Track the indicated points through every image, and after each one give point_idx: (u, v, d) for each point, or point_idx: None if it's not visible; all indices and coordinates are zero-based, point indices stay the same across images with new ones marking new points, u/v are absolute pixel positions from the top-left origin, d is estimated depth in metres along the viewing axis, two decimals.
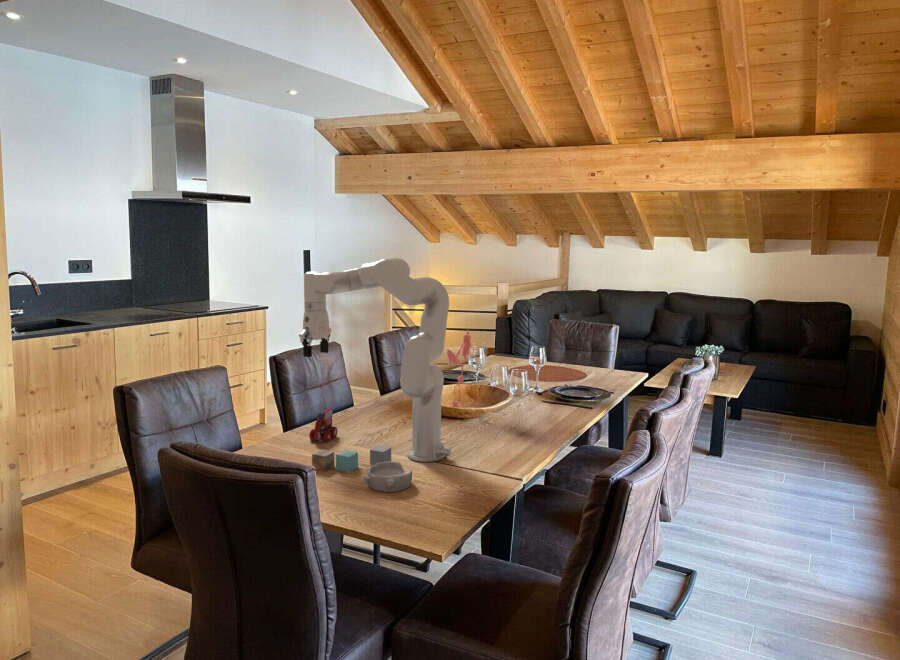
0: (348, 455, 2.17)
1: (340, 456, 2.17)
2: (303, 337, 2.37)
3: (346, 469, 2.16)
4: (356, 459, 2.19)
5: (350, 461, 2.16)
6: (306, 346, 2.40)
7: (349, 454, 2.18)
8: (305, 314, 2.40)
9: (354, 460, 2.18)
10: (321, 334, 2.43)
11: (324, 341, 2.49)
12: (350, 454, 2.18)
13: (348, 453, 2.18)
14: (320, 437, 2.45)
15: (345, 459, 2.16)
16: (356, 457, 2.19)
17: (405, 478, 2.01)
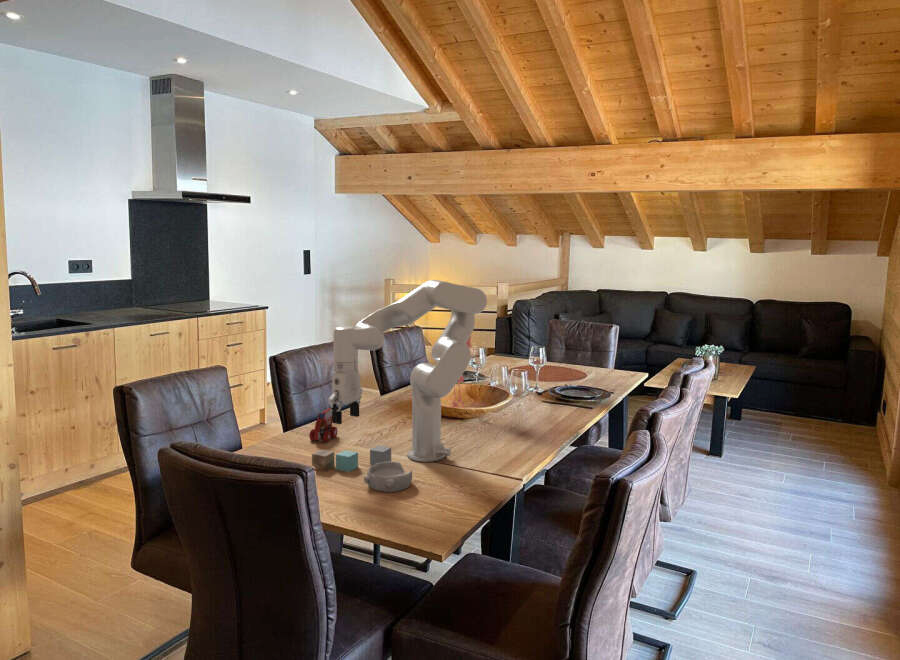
0: (348, 455, 2.17)
1: (340, 456, 2.17)
2: (333, 402, 2.09)
3: (346, 469, 2.16)
4: (356, 459, 2.19)
5: (350, 461, 2.16)
6: (336, 412, 2.11)
7: (349, 454, 2.18)
8: (335, 375, 2.11)
9: (354, 460, 2.18)
10: (352, 397, 2.14)
11: (355, 404, 2.20)
12: (350, 454, 2.18)
13: (348, 453, 2.18)
14: (320, 437, 2.45)
15: (345, 459, 2.16)
16: (356, 457, 2.19)
17: (405, 478, 2.01)
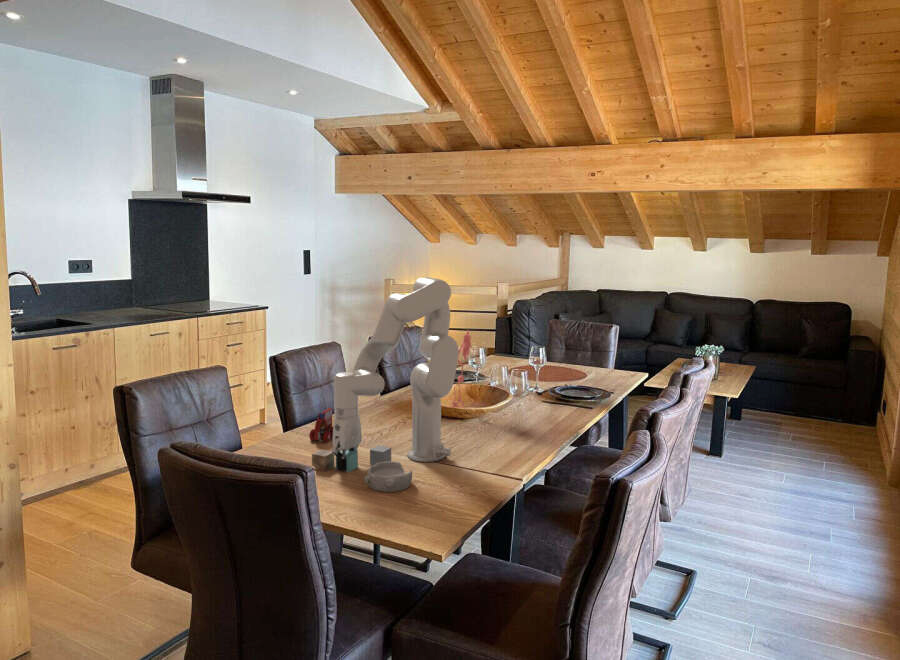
0: (348, 455, 2.17)
1: None
2: (337, 452, 2.12)
3: (346, 469, 2.16)
4: (356, 458, 2.19)
5: (350, 461, 2.16)
6: (340, 459, 2.15)
7: (349, 454, 2.18)
8: (335, 422, 2.13)
9: (354, 460, 2.18)
10: (353, 443, 2.16)
11: None
12: (350, 454, 2.17)
13: (348, 453, 2.18)
14: (320, 437, 2.45)
15: None
16: (356, 457, 2.19)
17: (405, 478, 2.01)
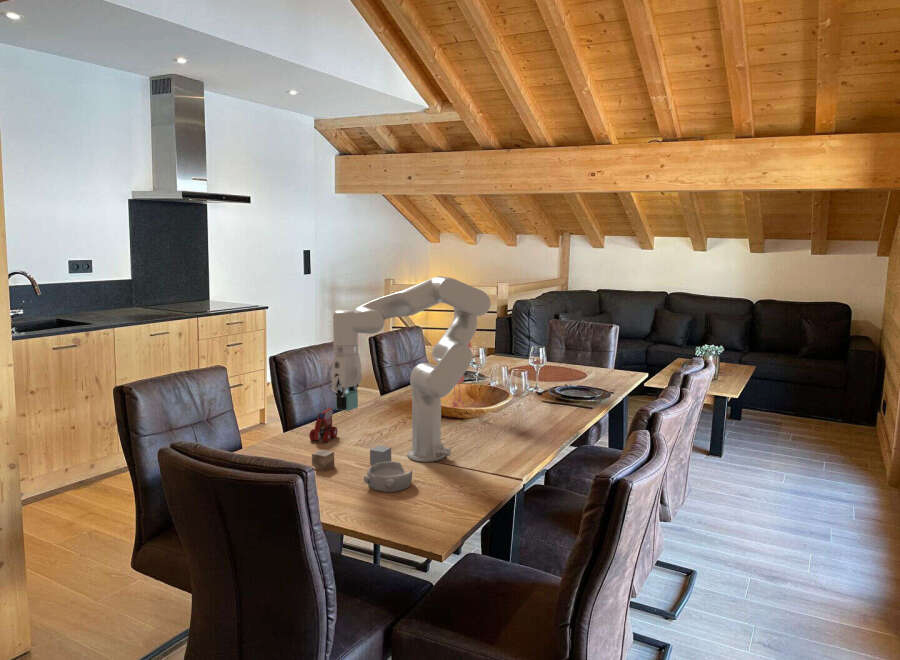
0: (348, 393, 2.14)
1: None
2: (336, 389, 2.10)
3: (346, 408, 2.13)
4: (355, 398, 2.16)
5: (350, 399, 2.13)
6: (340, 397, 2.12)
7: (348, 393, 2.15)
8: (335, 359, 2.10)
9: (354, 399, 2.15)
10: (353, 381, 2.13)
11: None
12: (350, 393, 2.15)
13: (348, 392, 2.16)
14: (320, 437, 2.45)
15: None
16: (356, 396, 2.16)
17: (405, 478, 2.01)
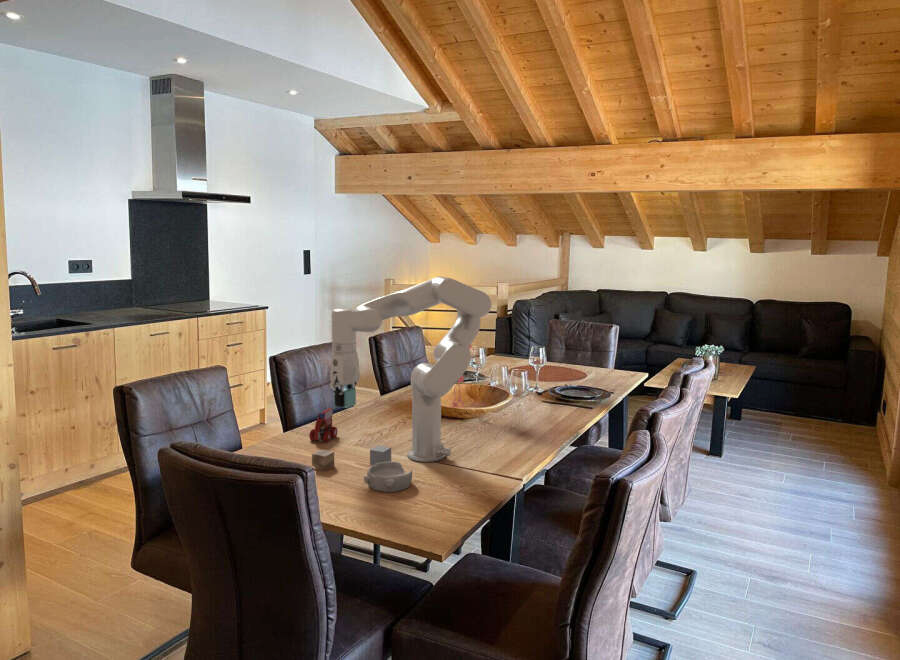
0: (346, 391, 2.16)
1: None
2: (334, 387, 2.12)
3: (344, 405, 2.16)
4: (353, 395, 2.19)
5: (348, 397, 2.16)
6: (338, 395, 2.15)
7: (347, 390, 2.17)
8: (333, 357, 2.13)
9: (352, 396, 2.18)
10: (351, 379, 2.16)
11: None
12: (348, 390, 2.17)
13: (346, 390, 2.18)
14: (320, 437, 2.45)
15: None
16: (354, 394, 2.19)
17: (405, 478, 2.01)
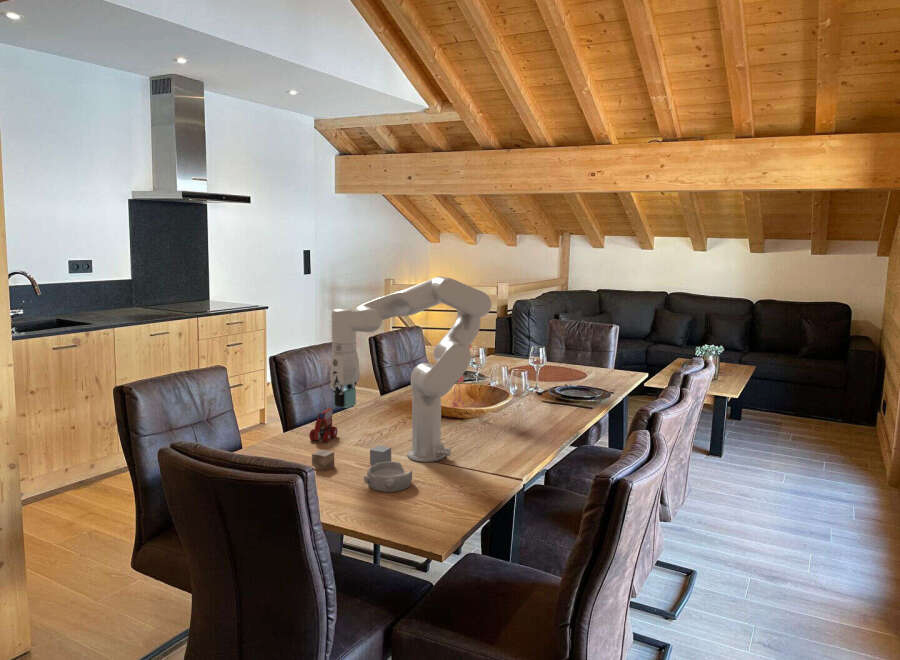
0: (346, 391, 2.16)
1: None
2: (334, 387, 2.12)
3: (344, 405, 2.16)
4: (353, 395, 2.19)
5: (348, 397, 2.16)
6: (338, 395, 2.15)
7: (347, 390, 2.17)
8: (333, 357, 2.13)
9: (352, 396, 2.18)
10: (351, 379, 2.16)
11: None
12: (348, 390, 2.17)
13: (346, 390, 2.18)
14: (320, 437, 2.45)
15: None
16: (354, 394, 2.19)
17: (405, 478, 2.01)
